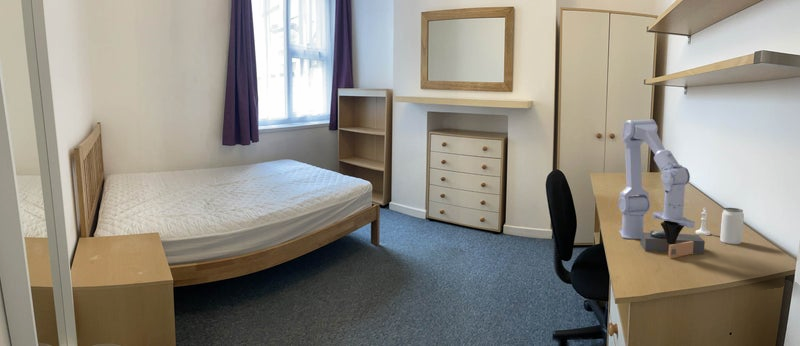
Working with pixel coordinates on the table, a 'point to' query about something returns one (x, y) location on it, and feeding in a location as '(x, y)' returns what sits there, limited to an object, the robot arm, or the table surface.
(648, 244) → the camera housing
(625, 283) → the table surface
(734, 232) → the can
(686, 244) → the side door
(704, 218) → the chess piece
